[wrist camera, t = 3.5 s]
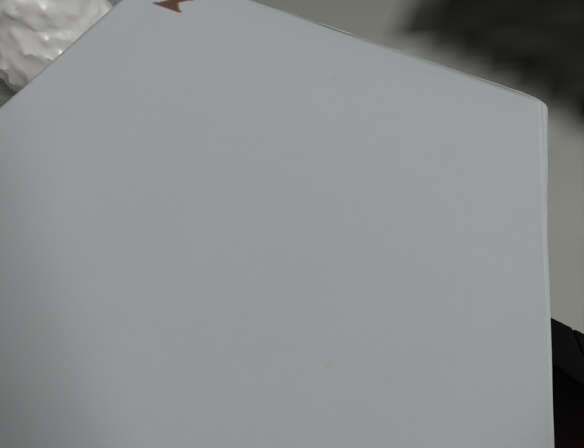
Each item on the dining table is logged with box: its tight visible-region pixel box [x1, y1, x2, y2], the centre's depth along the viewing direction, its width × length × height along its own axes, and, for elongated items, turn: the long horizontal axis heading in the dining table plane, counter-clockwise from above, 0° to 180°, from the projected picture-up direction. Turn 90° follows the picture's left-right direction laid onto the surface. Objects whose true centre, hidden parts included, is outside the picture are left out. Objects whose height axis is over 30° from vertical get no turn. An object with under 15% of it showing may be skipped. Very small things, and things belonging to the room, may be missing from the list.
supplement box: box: [0, 0, 554, 448], centre depth 10 cm, size 7×7×13 cm
